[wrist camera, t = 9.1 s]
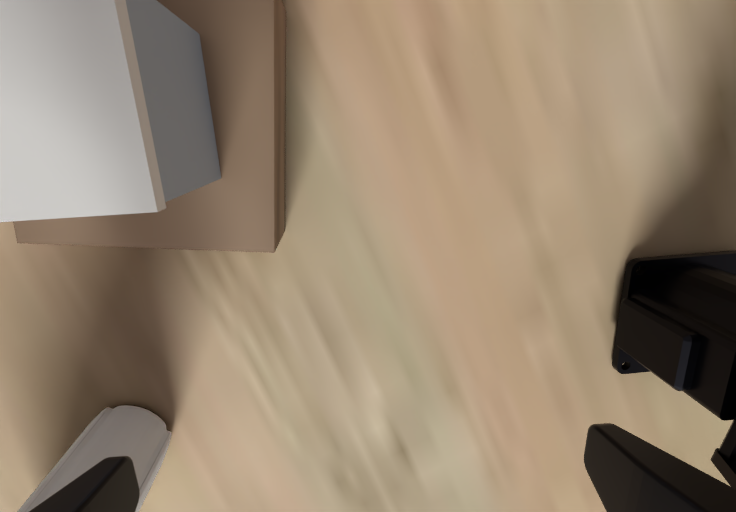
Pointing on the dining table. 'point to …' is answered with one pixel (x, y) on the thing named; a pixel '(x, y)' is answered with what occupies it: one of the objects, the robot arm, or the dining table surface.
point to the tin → (100, 109)
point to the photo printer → (110, 450)
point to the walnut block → (233, 140)
